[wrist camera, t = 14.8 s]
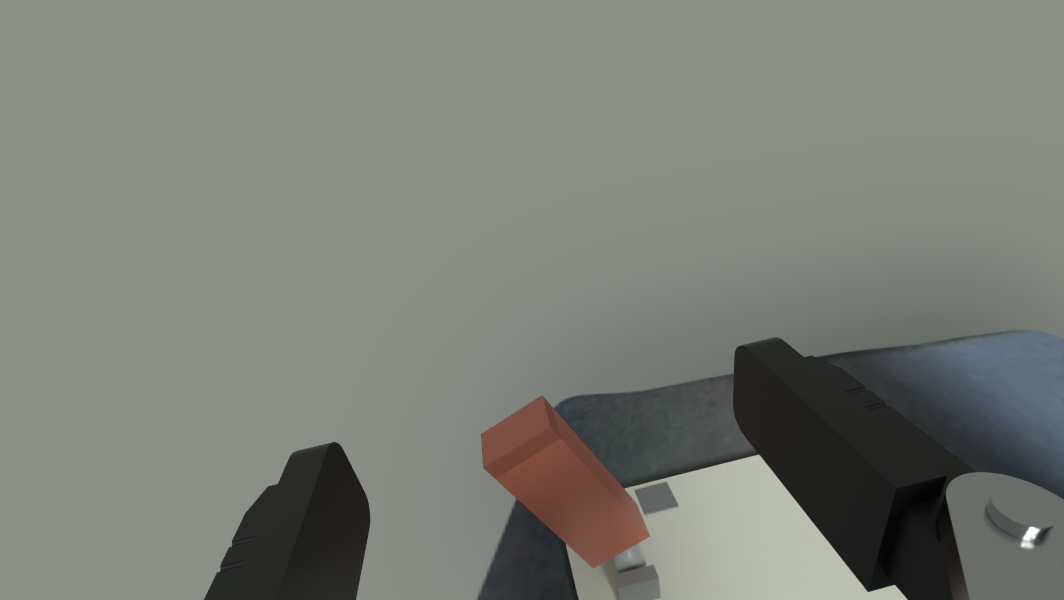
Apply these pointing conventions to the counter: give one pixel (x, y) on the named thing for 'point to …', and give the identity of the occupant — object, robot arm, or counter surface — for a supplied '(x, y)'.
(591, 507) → the lever
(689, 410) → the counter surface
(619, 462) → the counter surface
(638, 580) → the breaker base
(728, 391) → the counter surface
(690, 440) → the counter surface
